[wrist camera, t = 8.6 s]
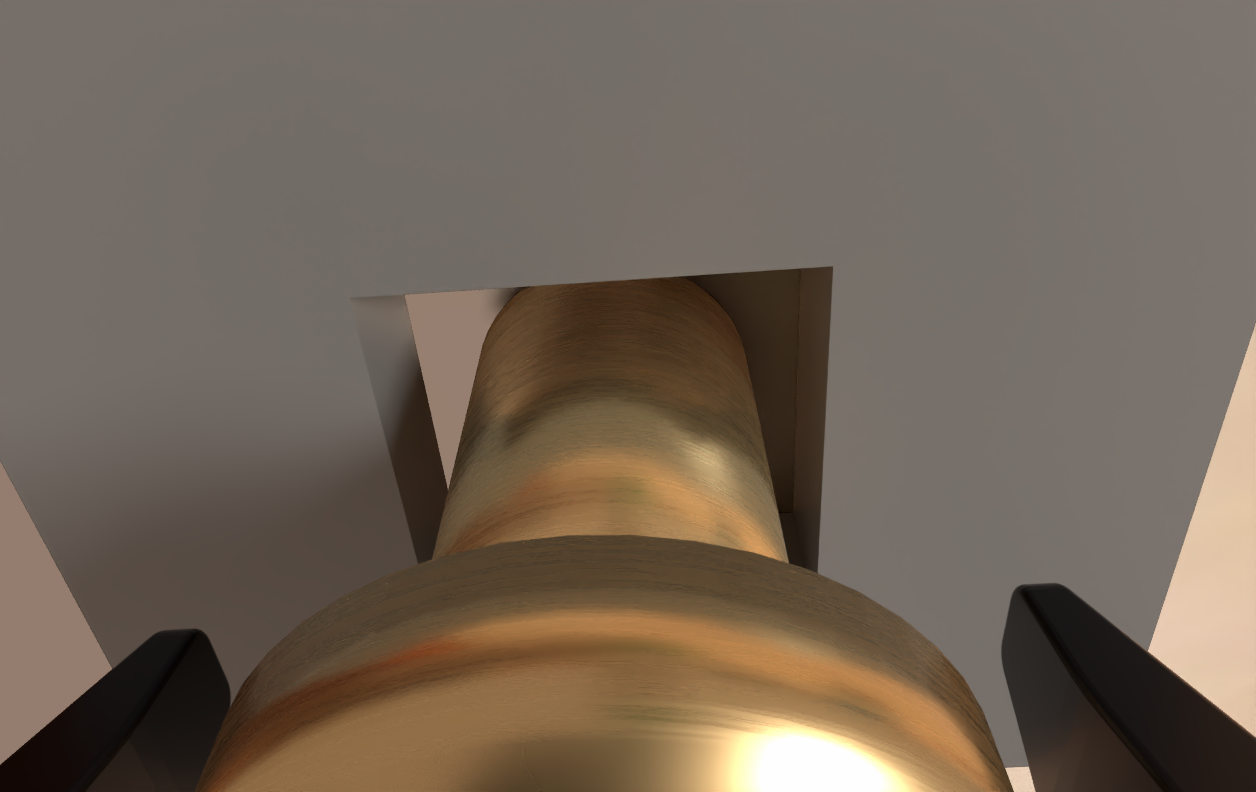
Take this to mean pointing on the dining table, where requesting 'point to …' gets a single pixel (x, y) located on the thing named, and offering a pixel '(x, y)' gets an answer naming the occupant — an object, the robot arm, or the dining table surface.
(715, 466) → the door knob
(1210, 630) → the dining table surface
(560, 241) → the housing plate
